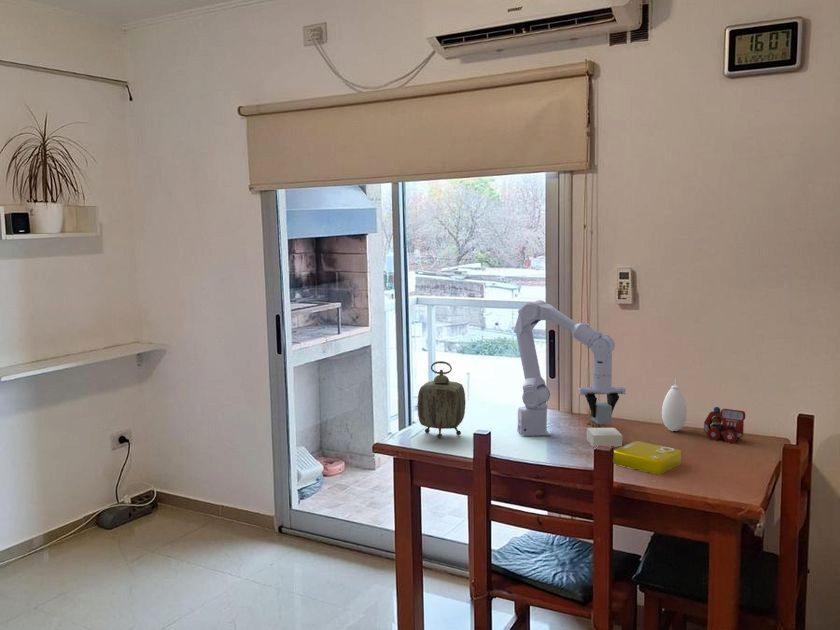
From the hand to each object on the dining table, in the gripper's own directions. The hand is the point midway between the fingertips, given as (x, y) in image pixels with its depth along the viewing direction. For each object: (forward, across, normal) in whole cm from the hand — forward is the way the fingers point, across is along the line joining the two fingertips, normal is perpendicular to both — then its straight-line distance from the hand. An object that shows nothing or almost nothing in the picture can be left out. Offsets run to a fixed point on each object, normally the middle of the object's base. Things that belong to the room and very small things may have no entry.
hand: (601, 416), depth 231 cm
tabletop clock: (+9, -50, +11) cm, 52 cm away
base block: (+9, +1, 0) cm, 9 cm away
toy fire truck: (+9, +41, +1) cm, 42 cm away
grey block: (+2, 0, 0) cm, 2 cm away
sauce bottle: (+9, +29, +12) cm, 33 cm away
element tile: (+9, +7, -22) cm, 24 cm away
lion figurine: (+9, +5, +20) cm, 23 cm away
